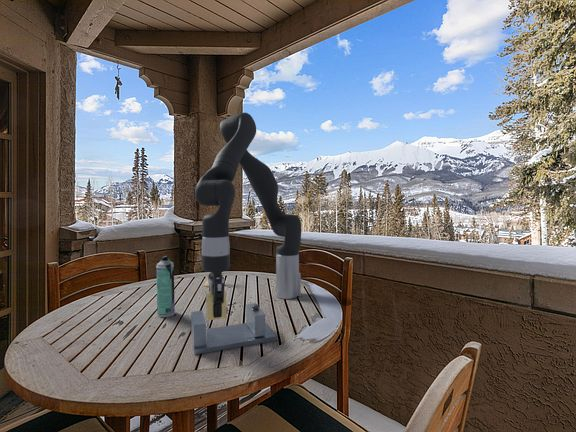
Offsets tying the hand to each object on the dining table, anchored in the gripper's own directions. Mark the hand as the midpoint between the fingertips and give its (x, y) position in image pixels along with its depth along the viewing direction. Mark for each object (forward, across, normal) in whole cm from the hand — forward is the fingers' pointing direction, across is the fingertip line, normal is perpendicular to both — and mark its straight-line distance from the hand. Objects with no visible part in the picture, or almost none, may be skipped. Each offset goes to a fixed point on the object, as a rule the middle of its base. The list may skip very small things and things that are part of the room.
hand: (216, 313), depth 85 cm
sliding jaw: (+6, 0, -11) cm, 13 cm away
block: (+1, 0, 0) cm, 1 cm away
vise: (+8, 0, -5) cm, 9 cm away
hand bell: (+8, +58, -6) cm, 59 cm away
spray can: (+8, +26, +13) cm, 30 cm away
